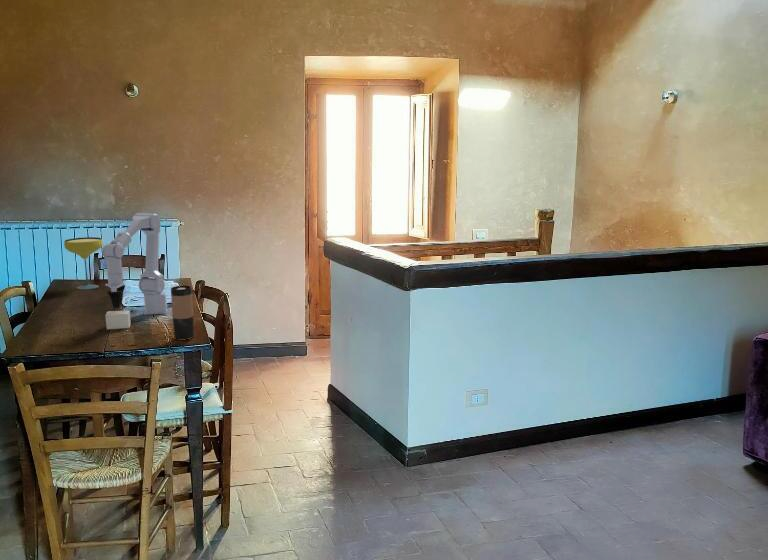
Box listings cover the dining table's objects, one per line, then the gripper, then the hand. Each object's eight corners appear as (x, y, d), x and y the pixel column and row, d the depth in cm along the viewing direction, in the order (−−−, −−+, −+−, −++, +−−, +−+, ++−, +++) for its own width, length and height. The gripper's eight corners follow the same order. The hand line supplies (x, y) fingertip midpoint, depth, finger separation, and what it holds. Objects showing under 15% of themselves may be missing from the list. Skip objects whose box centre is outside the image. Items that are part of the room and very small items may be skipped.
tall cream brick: (130, 324, 292) (129, 310, 291) (129, 327, 286) (127, 313, 285) (108, 325, 290) (107, 311, 289) (106, 329, 284) (105, 315, 283)
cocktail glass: (72, 284, 370) (67, 238, 365) (108, 283, 374) (104, 236, 369) (65, 292, 353) (60, 243, 348) (103, 290, 357) (99, 241, 352)
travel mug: (198, 336, 274) (195, 286, 269) (187, 341, 266) (183, 290, 262) (181, 334, 276) (178, 285, 272) (170, 339, 269) (166, 289, 265)
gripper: (107, 270, 290) (110, 301, 293) (101, 276, 276) (104, 310, 279) (125, 269, 292) (127, 300, 295) (120, 275, 278) (123, 309, 281)
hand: (117, 305), depth 287 cm, fingers open, 7 cm apart
